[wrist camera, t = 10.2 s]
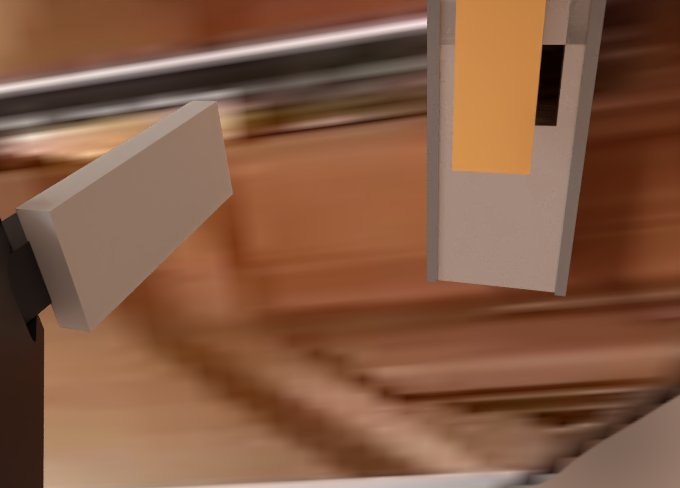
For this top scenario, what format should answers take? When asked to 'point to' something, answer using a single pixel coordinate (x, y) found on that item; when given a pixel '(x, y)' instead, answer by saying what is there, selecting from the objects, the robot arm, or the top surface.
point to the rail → (511, 189)
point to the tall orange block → (496, 84)
